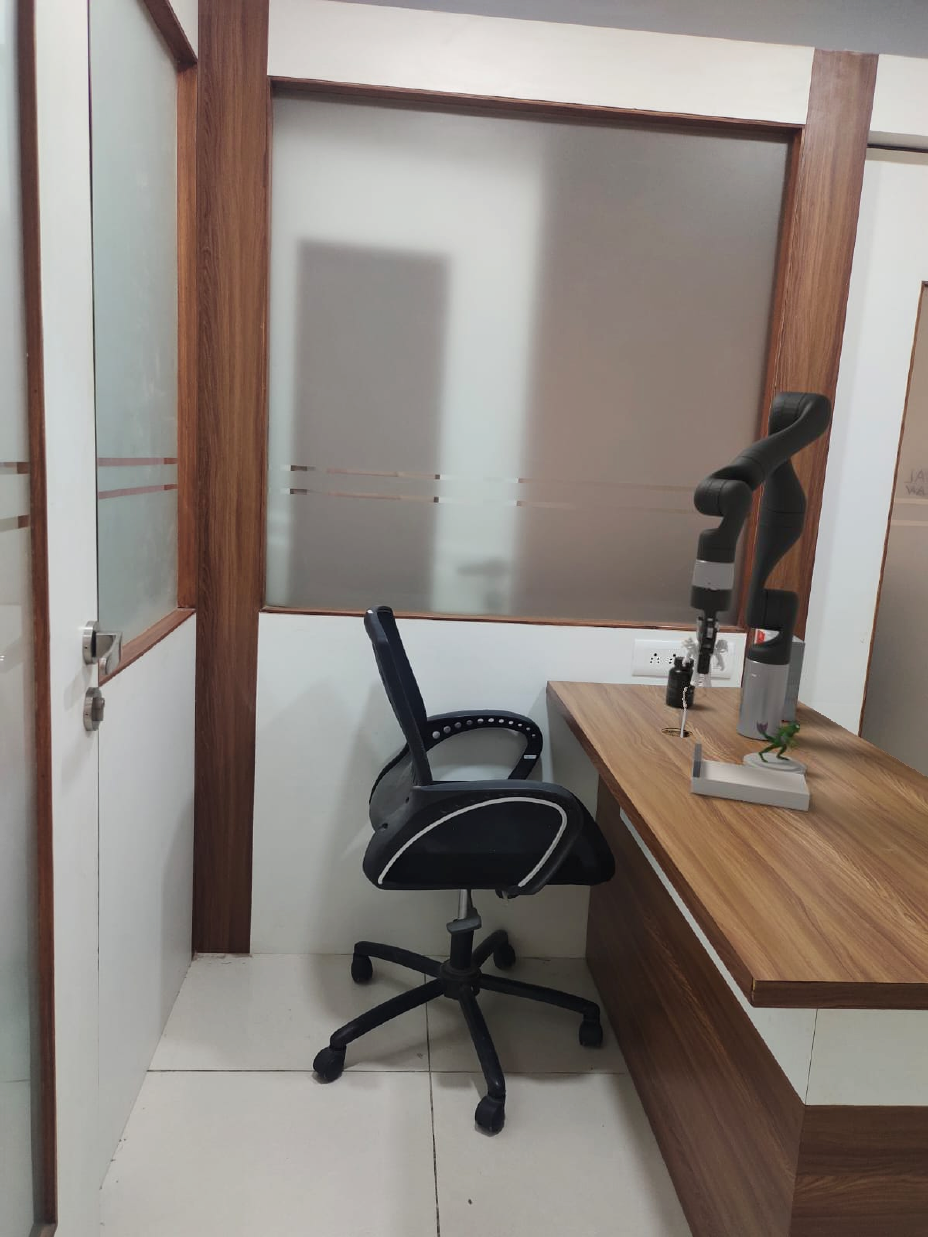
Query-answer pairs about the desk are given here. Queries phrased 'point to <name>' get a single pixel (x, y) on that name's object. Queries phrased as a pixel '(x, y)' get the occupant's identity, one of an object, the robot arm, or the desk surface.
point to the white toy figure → (694, 651)
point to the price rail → (697, 760)
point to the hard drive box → (793, 671)
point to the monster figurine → (778, 760)
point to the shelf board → (751, 785)
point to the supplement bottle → (680, 684)
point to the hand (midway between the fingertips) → (701, 671)
